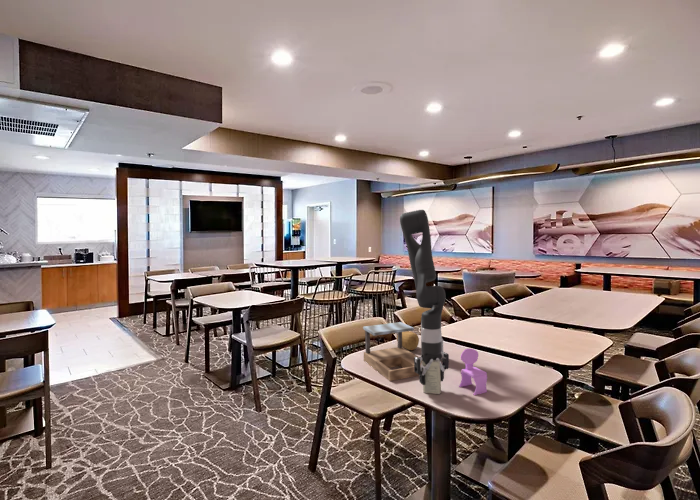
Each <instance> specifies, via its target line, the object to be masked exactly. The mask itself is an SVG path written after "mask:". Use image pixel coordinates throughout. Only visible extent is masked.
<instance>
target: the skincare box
mask: <svg viewBox="0 0 700 500" xmlns="http://www.w3.org/2000/svg"><path fill="white" fill-rule="evenodd" d="M440 362H441V360H438V361H436V360H433V362H432V364H431V365H430V367H429V369H428V370H427V371H426V373H425V385H422V386H423V387H422V388H423V389H422V390H423V393H425V394H426V393H427V394H433V395H440V394H441V391H442V381H441V374H440ZM422 366H426V364H425V363H424V361H422ZM423 369H424V368H423Z"/></svg>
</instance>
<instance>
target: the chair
mask: <svg viewBox="0 0 700 500" xmlns="http://www.w3.org/2000/svg"><path fill="white" fill-rule="evenodd" d="M478 359H479V352H478V351H477V350H476V349H474V348H469V347H468V348H465V349H464V350H463V351H462V352H461V354H460V360H461V362H463V363H464V364H465V368H462V369H461V371H460V375H461V380H460V383H459V386H458V388H461V387H467V386H470V385H471V386H472V385H473V383H472V381H474V383H475V390H474V392H473V396H477V395H481V394H484V393H488V389H487V381H488V374H487V373H488V372H487V371H485V370H482V369H480V368H478V367H476V366H474V364H475V363H476V362H478ZM472 379H473V380H472Z"/></svg>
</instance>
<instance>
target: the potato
mask: <svg viewBox="0 0 700 500" xmlns="http://www.w3.org/2000/svg"><path fill="white" fill-rule="evenodd" d="M396 341H397V342H398V334H397V335H396ZM419 343H420V338H419V335H417V333H415V332H414V331H405V332H402V347H403V348H404V349H406V350H408V351H410V350H411V351H414V350H416V349H417V348H418V346H419Z"/></svg>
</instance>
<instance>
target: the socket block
mask: <svg viewBox="0 0 700 500" xmlns="http://www.w3.org/2000/svg"><path fill="white" fill-rule="evenodd" d="M362 329H363V330H364V334H365V336H364V337H365V351H363V362H365V361H366V362H367V363H368V364H367V363H366V362H365V363H366V364H367V365H369V366H370V367H371V366H372V367H373V368H372V367H371V368H372V369H374V370H375V371H376V372H377V371H378V372H377V373H379V374H380V375H381V376H383V378H385V379H387V381H389V382H393V381H398V380H402V379H407V378H413V377H419V375H418V374H417V373H415V372H414V357H419V356H418V355H417V354H415V353H414V352H412V351H410V350H408V349H406V348H404V347H402V332H406V331H411V332H414V330H415V327H413V326H410V325H409V324H406V323H404V322H402V321H399V322H397V321H396V322H390V323H384V324H374V325H367V326H365V325H364V326H362ZM388 334H397V335H398V341H397V346H396V347H390V348H389V347H388V348H384V349H377V350H376V349H375V350H371V336H370V335H372V336H375V337H376V336H381V335H388ZM421 364H422V361H421V363H420V367H421ZM396 367H397V369H392V368H396ZM398 367H400V368H398ZM401 367H402V368H401Z"/></svg>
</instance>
